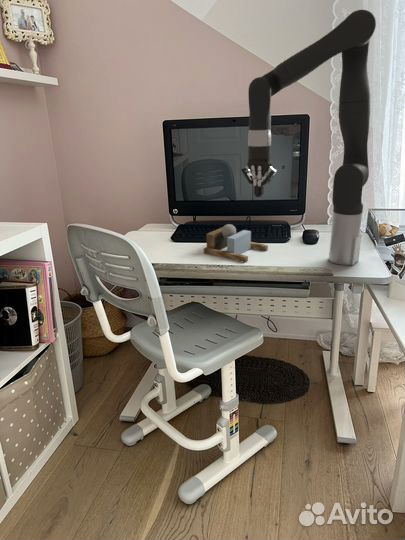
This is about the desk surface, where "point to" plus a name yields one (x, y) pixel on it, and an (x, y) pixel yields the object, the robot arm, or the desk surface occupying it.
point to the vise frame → (218, 242)
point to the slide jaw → (239, 242)
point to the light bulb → (228, 231)
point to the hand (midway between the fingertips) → (258, 196)
